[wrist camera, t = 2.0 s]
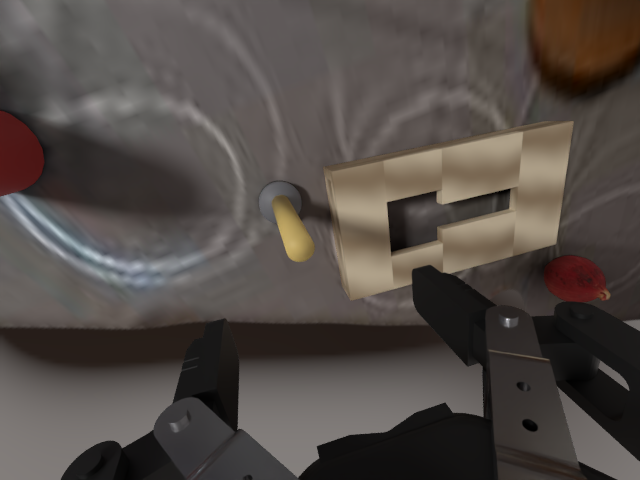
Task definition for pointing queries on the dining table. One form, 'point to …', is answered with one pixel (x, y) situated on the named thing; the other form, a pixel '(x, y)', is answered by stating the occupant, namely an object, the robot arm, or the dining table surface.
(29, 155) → the beer can
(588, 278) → the onion
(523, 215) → the keyhole board
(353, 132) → the dining table surface
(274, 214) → the headed peg
